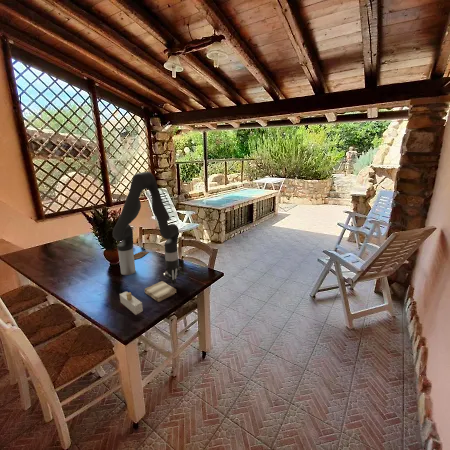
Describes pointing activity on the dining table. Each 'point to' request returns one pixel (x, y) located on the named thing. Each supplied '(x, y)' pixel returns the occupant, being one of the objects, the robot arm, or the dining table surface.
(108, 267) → the dining table surface
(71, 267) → the dining table surface
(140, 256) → the wooden fragment
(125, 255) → the robot arm
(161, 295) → the maple plate
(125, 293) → the block
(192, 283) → the dining table surface
